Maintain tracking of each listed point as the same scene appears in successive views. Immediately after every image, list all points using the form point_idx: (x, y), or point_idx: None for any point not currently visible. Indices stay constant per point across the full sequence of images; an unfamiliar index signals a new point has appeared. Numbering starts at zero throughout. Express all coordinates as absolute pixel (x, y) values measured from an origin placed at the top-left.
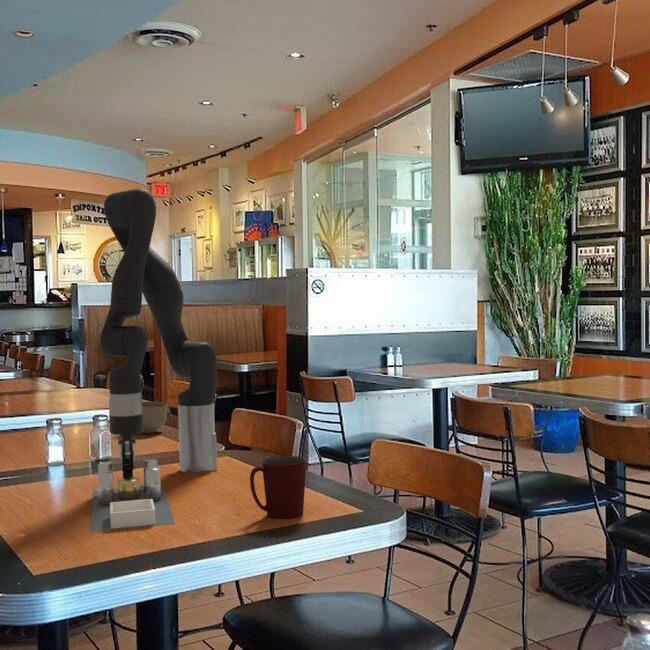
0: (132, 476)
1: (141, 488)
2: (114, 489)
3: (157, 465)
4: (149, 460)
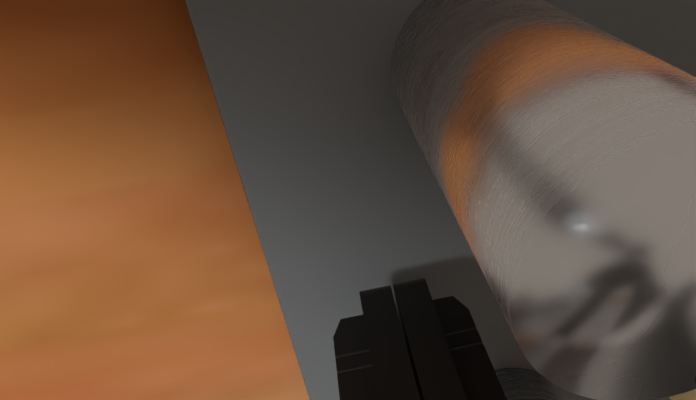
0: (450, 352)
1: (339, 188)
2: (336, 396)
3: (664, 75)
4: (642, 302)
